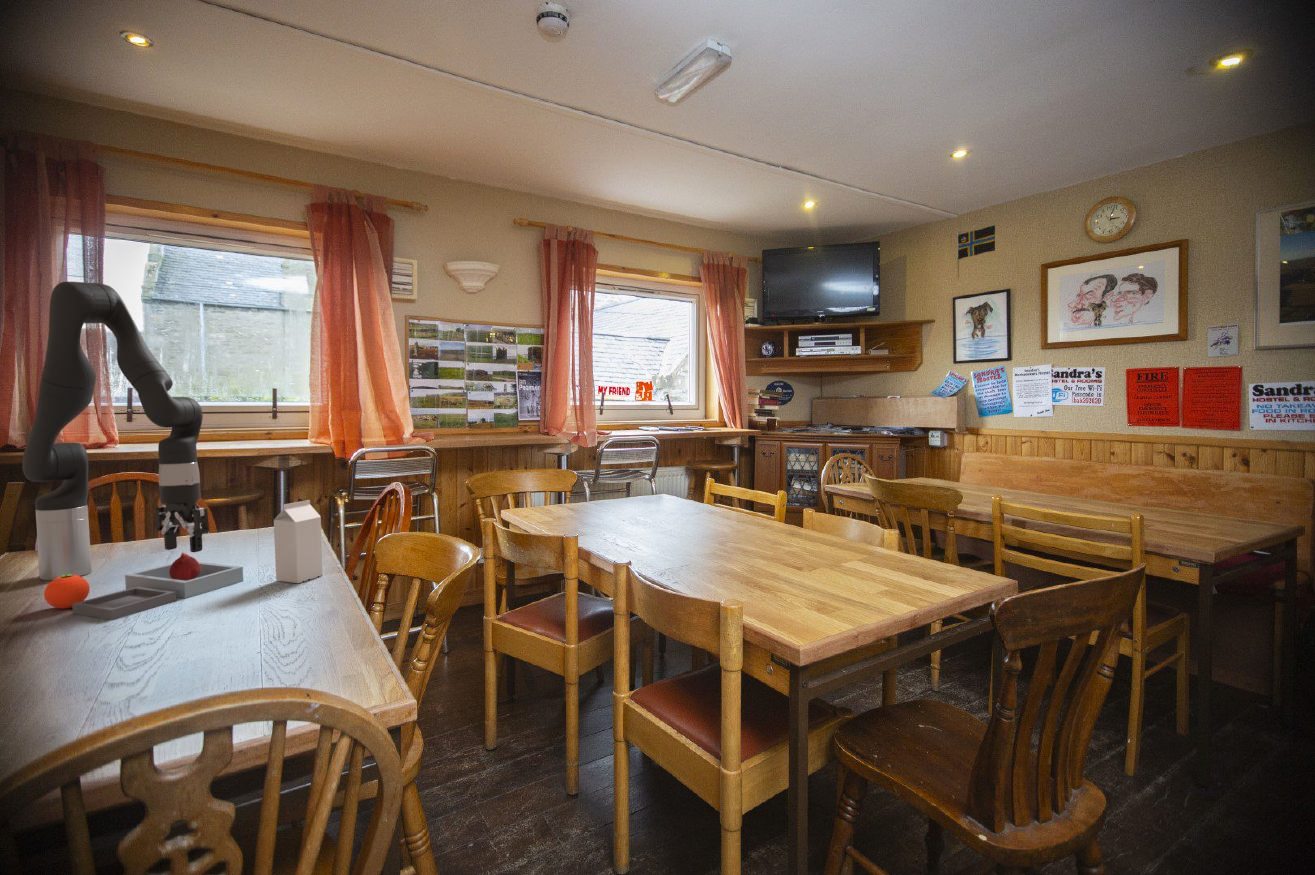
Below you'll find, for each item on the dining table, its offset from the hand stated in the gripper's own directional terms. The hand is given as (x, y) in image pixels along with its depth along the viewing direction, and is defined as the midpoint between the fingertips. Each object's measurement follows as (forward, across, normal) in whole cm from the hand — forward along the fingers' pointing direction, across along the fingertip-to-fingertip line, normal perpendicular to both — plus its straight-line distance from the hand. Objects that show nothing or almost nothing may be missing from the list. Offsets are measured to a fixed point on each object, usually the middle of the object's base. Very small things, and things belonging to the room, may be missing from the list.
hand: (183, 550), depth 142 cm
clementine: (+9, -9, -18) cm, 22 cm away
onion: (+9, 0, 0) cm, 9 cm away
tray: (+9, +3, -14) cm, 17 cm away
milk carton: (+9, +20, +13) cm, 26 cm away
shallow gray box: (+8, 0, 0) cm, 9 cm away
